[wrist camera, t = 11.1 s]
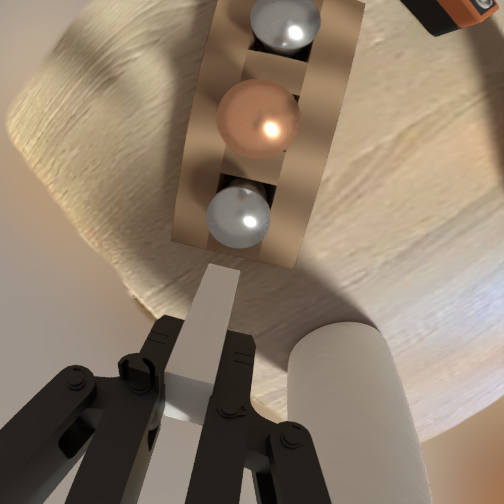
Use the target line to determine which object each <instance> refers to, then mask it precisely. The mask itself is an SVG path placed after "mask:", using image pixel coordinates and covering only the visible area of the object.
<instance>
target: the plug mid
mask: <svg viewBox="0 0 504 504" xmlns="http://www.w3.org/2000/svg"><path fill="white" fill-rule="evenodd" d="M300 123H301V116H300V110H299V106H298V104H297V102H296V100H295V98H294V97H293V95H292V94H291V93H290V92H289V91H288V90H287V89H286V88H285V87H284V86H282V85H280V84H279V83H276V82H274V81H271V80H268V79H249V80H245V81H243V82H240V83H238V84H236V85H235V86H233V87H232V88H231V89H230V90H228V91H227V93H226V94H225V95H224V96H223V98H222V100H221V101H220V104H219V106H218V110H217V127H218V131H219V133H220V136H221V137H222V139H223V141H224V142H225V143H226V145H227V146H228V147H229V148H231V149H232V150H233V151H234V152H236V153H238V154H240V155H242V156H245V157H248V158H254V159H264V158H269V157H273V156H276V155H278V154H280V153H281V152H283V151H284V150H286V149H287V148H288V147H289V146H290V145H291V144H292V143H293V141H294V140H295V138H296V136H297V134H298V132H299V129H300Z"/></svg>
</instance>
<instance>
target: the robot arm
mask: <svg viewBox="0 0 504 504" xmlns="http://www.w3.org/2000/svg"><path fill="white" fill-rule="evenodd" d="M240 272H241V271H240V270H235V269H231V268H227V267H223V266H219V265H215V264H211V263H209V264H208V267H207V269H206V271H205V274H204V276H203V278H202V281H201V283H200V285H199V288H198V290H197V293H196V295H195V297H194V300H193V302H192V304H191V307H190V309H189V312H188V314H187V316H186V319H185V320H183V319H179V318H175V317H172V316H168V315H163V316H162V317H161V318H159V319H158V320H157V321H155V323H154V325H153V327H152V329H151V332H150V333H149V335H148V337H147V340H146V341H145V343H144V345H143V347H142V349H141V351H140V353H133V354H128V355H126V356H124V357H122V358H121V359H120V361H119V362H118V368H119V375H120V376H119V377H113V378H112V377H111V378H108V377H97V376H96V377H95V376H94V375H93V373H92V372H91V371H90V370H89V369H88V368H85V367H83V366H78V365H72V366H68V367H66V368H65V369H63V370H62V371H60V372H59V374H57V375H56V376H55V377H54V378H53V379H52V380H51V381H50V382H49V383H48V384H47V385H46V386H45V387H44V388H43V389H41V390H40V391H39V392H38V393H37V394H36V395H35V396H34V397H33V398H32V399H31V400H30V401H29V402H28V403H27V404H26V405H25V406H24V407H23V408H22V409H21V410H20V411H19V412H18V413H17V414H16V415H15V416H14V417H13V418H12V419H11V420H10V421H9V422H8V423H7V424H6V425H5V426H4V427H3V428H2V429H1V430H0V504H43V503H44V501H45V500H46V499H47V498H48V496H49V495H50V494H51V493H52V492H53V491H54V489H55V488H56V487H57V486H58V485H59V483H60V482H61V481H62V480H63V478H64V477H65V476H66V475H67V474H68V472H69V471H70V470H71V469H72V468H73V466H74V465H75V464H76V463H77V462H78V460H79V459H80V458H81V457H82V455H83V454H84V453H85V452H86V453H85V455H84V458H83V460H82V462H81V464H80V467H79V469H78V472H77V474H76V476H75V479H74V481H73V484H72V486H71V489H70V491H69V494H68V496H67V499H66V501H65V504H137V501H138V498H139V495H140V492H141V488H142V485H143V482H144V478H145V475H146V472H147V469H148V466H149V462H150V459H151V456H152V453H153V450H154V447H155V443H156V440H157V437H158V434H159V431H160V425H161V418H162V415H163V412H164V415H165V416H169V417H172V418H176V419H180V420H184V421H187V422H191V423H195V424H199V425H203V428H202V432H201V436H200V440H199V444H198V449H197V453H196V457H195V462H194V466H193V470H192V474H191V479H190V483H189V487H188V492H187V496H186V500H185V504H239V500H240V493H241V485H242V477H243V470H244V467H245V468H247V469H250V470H251V471H252V477H253V483H254V489H255V494H256V500H257V504H332V502H331V499H330V496H329V492H328V489H327V486H326V483H325V479H324V476H323V473H322V469H321V466H320V463H319V459H318V456H317V453H316V450H315V446H314V443H313V440H312V436H311V435H310V433H309V431H308V430H307V429H306V428H305V427H304V426H303V425H301V424H299V423H297V422H292V421H285V422H281V423H279V424H276V423H274V422H272V421H269V420H268V419H265V418H264V417H262V416H260V415H259V414H258V413H257V412H256V411H255V410H254V408H253V407H252V405H251V402H250V392H251V384H252V375H253V366H254V357H255V350H256V345H255V342H254V340H253V337H252V335H247V334H243V333H238V332H234V331H230V330H227V327H228V323H229V319H230V315H231V310H232V306H233V302H234V297H235V293H236V289H237V285H238V280H239V276H240Z"/></svg>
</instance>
